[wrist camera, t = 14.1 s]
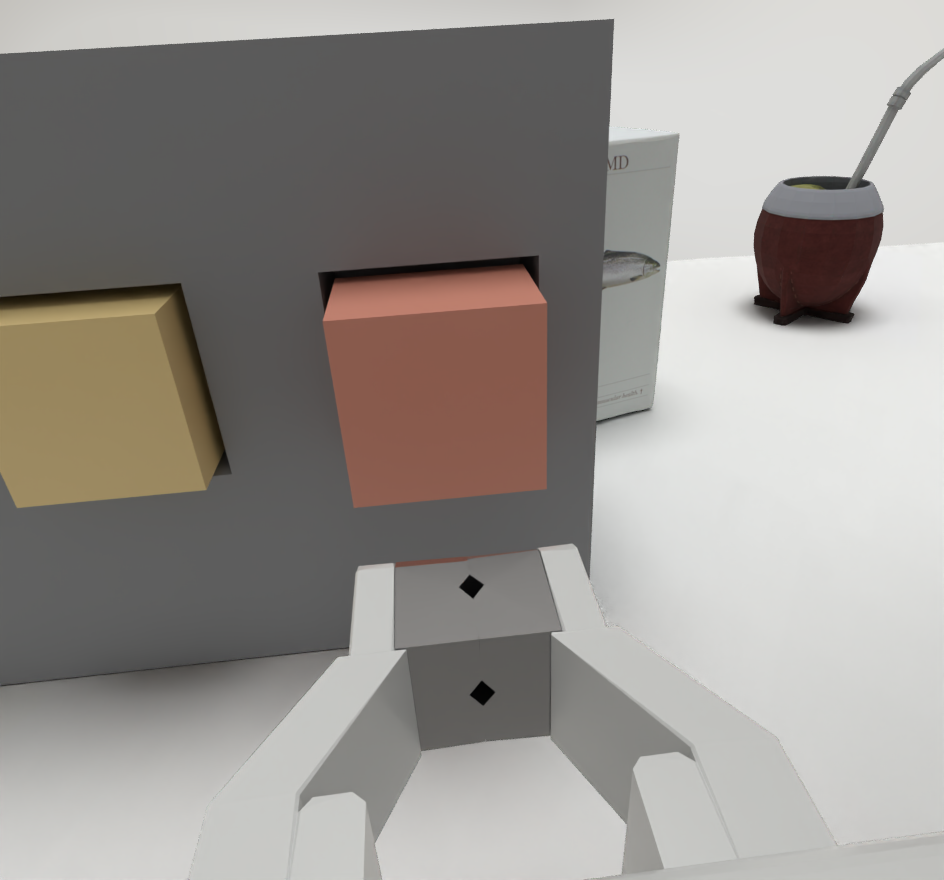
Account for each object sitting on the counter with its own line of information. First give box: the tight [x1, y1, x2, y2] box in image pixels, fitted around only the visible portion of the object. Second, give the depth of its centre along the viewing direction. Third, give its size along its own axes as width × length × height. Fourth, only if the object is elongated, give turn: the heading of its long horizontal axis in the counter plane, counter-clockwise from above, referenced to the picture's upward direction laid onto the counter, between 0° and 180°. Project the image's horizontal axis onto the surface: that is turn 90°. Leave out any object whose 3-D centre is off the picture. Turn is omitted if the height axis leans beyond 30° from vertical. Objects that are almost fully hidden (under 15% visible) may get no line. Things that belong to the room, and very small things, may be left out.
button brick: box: [323, 264, 547, 508], centre depth 16 cm, size 3×4×4 cm
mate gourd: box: [754, 49, 944, 325], centre depth 41 cm, size 8×8×15 cm
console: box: [0, 19, 614, 685], centre depth 20 cm, size 8×24×16 cm, turn 95°
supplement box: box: [596, 126, 679, 421], centre depth 32 cm, size 7×7×13 cm
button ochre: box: [0, 283, 225, 508], centre depth 16 cm, size 3×4×4 cm
